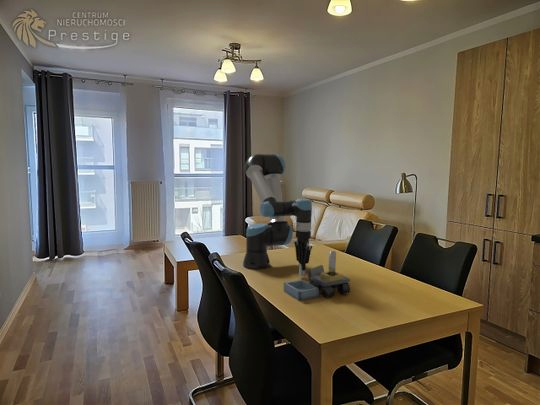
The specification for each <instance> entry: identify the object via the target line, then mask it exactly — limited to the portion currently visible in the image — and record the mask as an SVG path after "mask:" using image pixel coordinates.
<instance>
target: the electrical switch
mask: <svg viewBox="0 0 540 405" xmlns="http://www.w3.org/2000/svg"><path fill="white" fill-rule="evenodd" d="M306 272H307V277H308V283H310V284H311V281H312V280H311V276H317V275H321V273H322V272H325V269H324V265H321V264H320V265H318V266H314V267H312V268H310V269H308V270H307V269H306Z"/></svg>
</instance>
